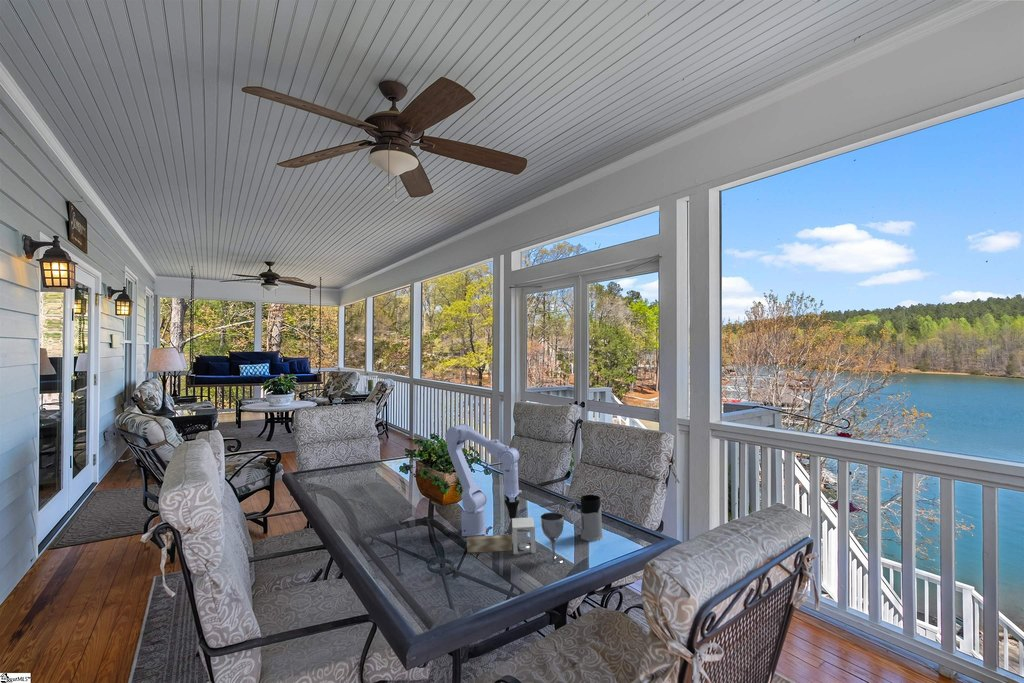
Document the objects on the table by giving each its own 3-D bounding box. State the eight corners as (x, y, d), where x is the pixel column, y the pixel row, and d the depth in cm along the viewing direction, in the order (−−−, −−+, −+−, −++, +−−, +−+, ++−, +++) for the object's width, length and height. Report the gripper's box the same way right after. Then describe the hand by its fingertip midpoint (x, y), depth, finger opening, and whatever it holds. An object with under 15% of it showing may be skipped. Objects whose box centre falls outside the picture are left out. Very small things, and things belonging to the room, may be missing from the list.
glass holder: (605, 540, 176) (603, 500, 177) (568, 542, 176) (566, 502, 177) (601, 531, 185) (599, 493, 185) (565, 533, 185) (563, 495, 185)
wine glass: (541, 555, 166) (539, 513, 167) (563, 553, 167) (561, 511, 167) (544, 565, 158) (542, 521, 159) (567, 563, 159) (565, 519, 159)
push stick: (467, 553, 171) (466, 539, 171) (468, 550, 174) (467, 536, 174) (512, 551, 171) (511, 537, 172) (512, 548, 174) (511, 534, 174)
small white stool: (513, 555, 167) (512, 528, 167) (513, 543, 178) (512, 518, 178) (535, 554, 167) (534, 527, 168) (534, 542, 178) (533, 517, 178)
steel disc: (518, 551, 171) (518, 548, 171) (518, 546, 175) (518, 543, 175) (530, 551, 171) (530, 547, 171) (529, 546, 175) (529, 543, 175)
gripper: (522, 484, 176) (523, 521, 175) (520, 474, 190) (521, 507, 190) (503, 485, 175) (504, 521, 175) (502, 475, 190) (504, 508, 190)
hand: (512, 514), depth 182 cm, fingers open, 7 cm apart
